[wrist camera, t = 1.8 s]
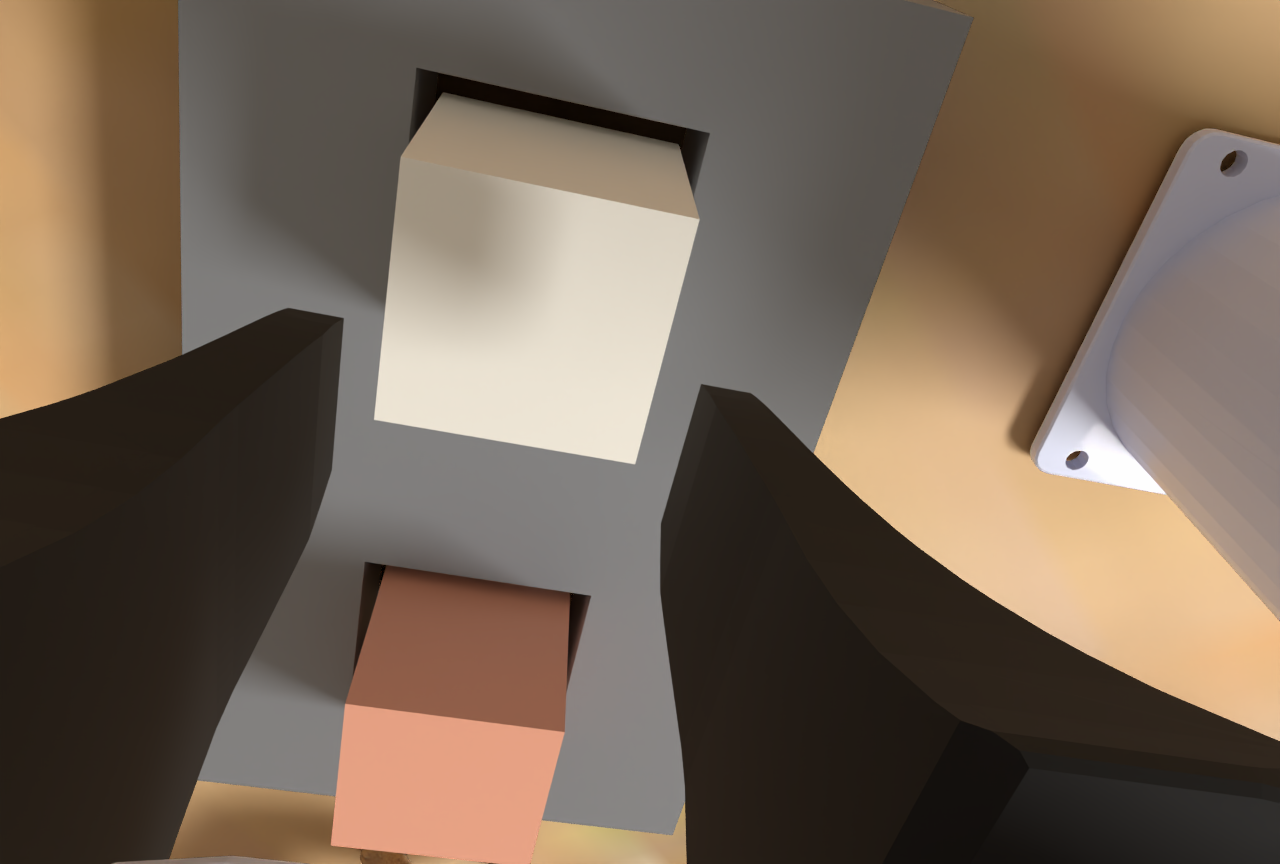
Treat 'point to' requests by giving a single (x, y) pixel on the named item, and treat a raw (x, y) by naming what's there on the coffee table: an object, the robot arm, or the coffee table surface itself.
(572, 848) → the coffee table surface
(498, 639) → the salmon pink block
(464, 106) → the cream cube
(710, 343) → the button housing
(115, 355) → the coffee table surface
